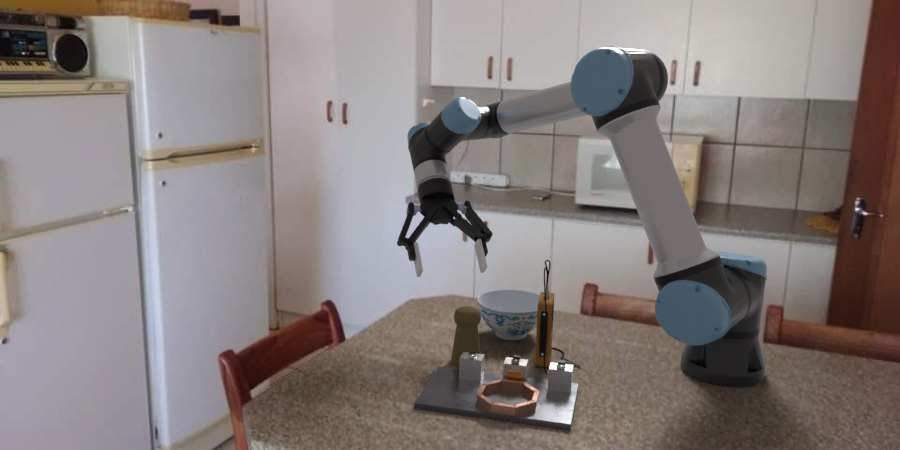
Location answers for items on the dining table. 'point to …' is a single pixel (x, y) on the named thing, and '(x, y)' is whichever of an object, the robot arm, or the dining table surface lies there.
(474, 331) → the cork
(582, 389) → the dining table surface
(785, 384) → the dining table surface
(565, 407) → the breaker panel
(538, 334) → the multimeter
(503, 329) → the chinaware
